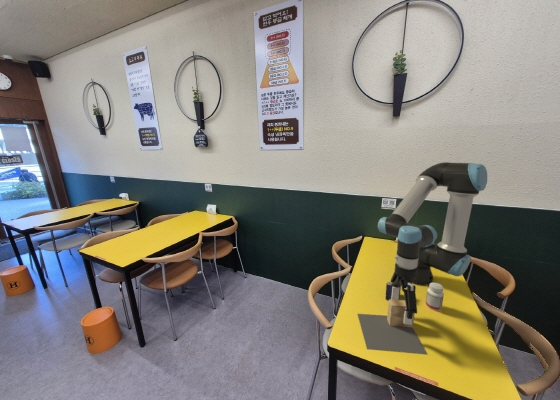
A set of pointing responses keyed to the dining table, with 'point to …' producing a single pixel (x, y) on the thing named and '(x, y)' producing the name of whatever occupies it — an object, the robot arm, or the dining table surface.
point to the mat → (389, 335)
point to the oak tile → (397, 313)
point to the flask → (390, 290)
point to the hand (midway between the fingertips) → (400, 311)
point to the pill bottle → (434, 297)
